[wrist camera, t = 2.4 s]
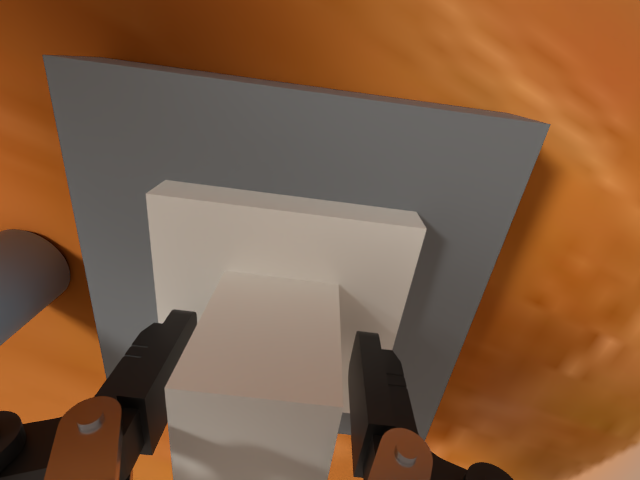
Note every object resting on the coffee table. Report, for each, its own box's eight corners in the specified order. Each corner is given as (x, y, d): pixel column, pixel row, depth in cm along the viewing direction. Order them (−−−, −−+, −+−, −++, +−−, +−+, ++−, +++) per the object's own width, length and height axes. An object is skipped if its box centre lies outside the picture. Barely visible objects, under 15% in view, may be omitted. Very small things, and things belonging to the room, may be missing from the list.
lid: (178, 366, 16) (95, 532, 11) (165, 179, 12) (20, 279, 7) (369, 387, 17) (391, 559, 11) (416, 211, 13) (489, 334, 7)
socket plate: (141, 364, 21) (112, 409, 18) (99, 57, 14) (42, 54, 11) (411, 394, 21) (423, 442, 18) (508, 113, 14) (550, 124, 11)
